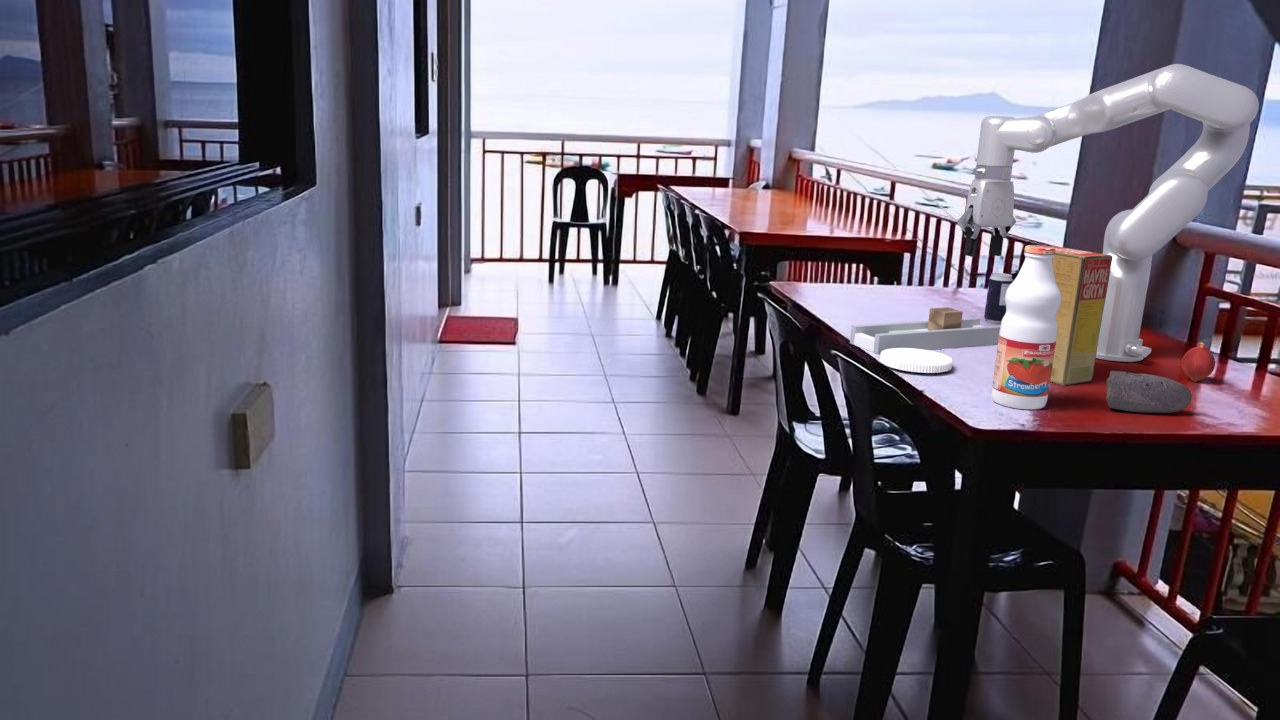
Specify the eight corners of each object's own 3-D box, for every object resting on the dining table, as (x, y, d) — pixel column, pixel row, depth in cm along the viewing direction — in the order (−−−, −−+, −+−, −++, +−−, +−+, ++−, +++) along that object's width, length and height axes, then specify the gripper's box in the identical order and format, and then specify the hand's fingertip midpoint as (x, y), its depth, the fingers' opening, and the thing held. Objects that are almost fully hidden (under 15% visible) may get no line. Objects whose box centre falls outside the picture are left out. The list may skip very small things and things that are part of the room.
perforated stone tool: (1182, 410, 171) (1189, 373, 169) (1194, 419, 166) (1202, 381, 164) (1094, 404, 173) (1100, 367, 171) (1103, 412, 168) (1109, 374, 166)
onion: (1181, 375, 195) (1188, 337, 193) (1213, 381, 191) (1221, 342, 189) (1175, 381, 190) (1182, 342, 188) (1208, 387, 187) (1216, 347, 185)
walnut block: (960, 333, 214) (962, 311, 213) (942, 334, 212) (944, 312, 211) (944, 328, 219) (947, 307, 217) (927, 329, 217) (929, 308, 215)
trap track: (1004, 344, 217) (1007, 326, 216) (877, 354, 203) (879, 335, 202) (973, 334, 226) (975, 317, 225) (849, 343, 212) (851, 325, 211)
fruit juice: (1026, 394, 177) (1048, 243, 170) (1057, 410, 168) (1082, 251, 161) (980, 395, 175) (1000, 242, 168) (1009, 411, 166) (1031, 250, 159)
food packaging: (1094, 381, 188) (1115, 254, 182) (1063, 386, 184) (1083, 256, 177) (1037, 364, 199) (1055, 245, 193) (1006, 369, 195) (1023, 246, 188)
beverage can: (1004, 320, 243) (1010, 273, 240) (1010, 324, 238) (1016, 277, 235) (981, 318, 244) (987, 272, 241) (986, 323, 238) (993, 275, 235)
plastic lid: (959, 367, 196) (960, 355, 195) (939, 382, 185) (940, 369, 184) (892, 356, 203) (894, 344, 203) (869, 369, 192) (870, 357, 191)
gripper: (974, 175, 203) (963, 259, 208) (1036, 176, 210) (1024, 257, 215) (950, 172, 210) (940, 254, 214) (1010, 173, 217) (1000, 252, 221)
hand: (982, 255), depth 214 cm, fingers open, 6 cm apart
